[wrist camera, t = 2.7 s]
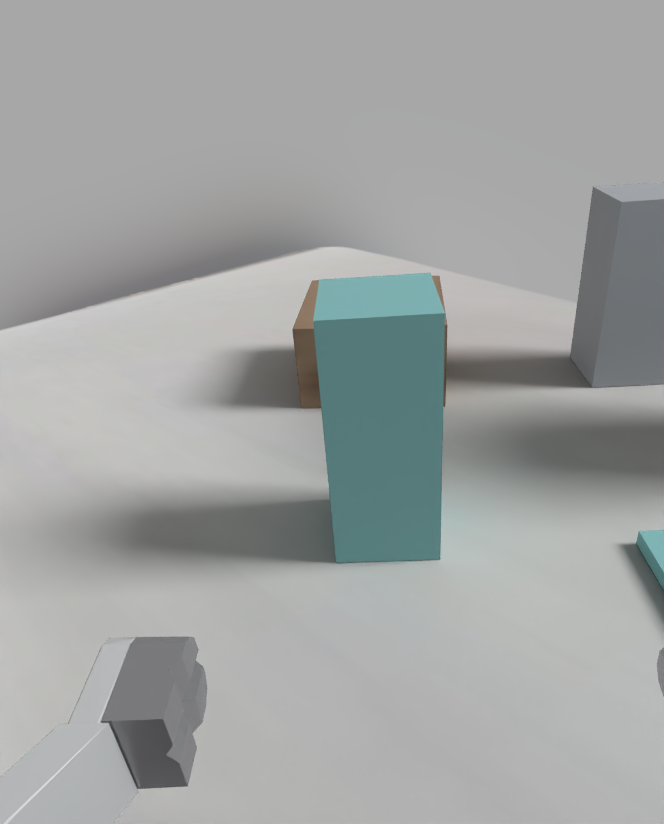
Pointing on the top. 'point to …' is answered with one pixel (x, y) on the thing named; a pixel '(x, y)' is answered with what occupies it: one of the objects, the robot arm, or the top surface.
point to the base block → (307, 348)
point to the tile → (653, 551)
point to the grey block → (622, 288)
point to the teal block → (382, 414)
